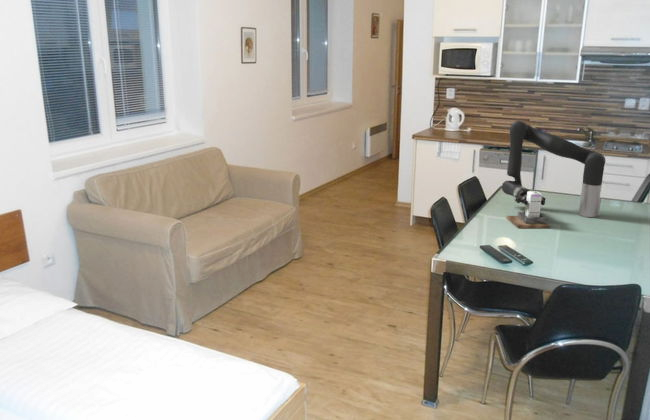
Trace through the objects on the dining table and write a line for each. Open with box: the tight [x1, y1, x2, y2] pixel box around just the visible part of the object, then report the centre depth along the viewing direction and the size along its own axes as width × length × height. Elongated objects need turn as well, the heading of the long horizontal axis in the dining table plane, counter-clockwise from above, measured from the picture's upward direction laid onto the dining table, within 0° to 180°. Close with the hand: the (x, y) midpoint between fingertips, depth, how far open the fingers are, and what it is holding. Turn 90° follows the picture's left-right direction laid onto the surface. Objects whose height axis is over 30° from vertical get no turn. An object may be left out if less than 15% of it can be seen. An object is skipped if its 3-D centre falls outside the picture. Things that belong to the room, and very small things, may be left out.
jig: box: [506, 211, 551, 229], centre depth 291 cm, size 16×16×4 cm
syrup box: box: [524, 190, 543, 217], centre depth 290 cm, size 6×6×14 cm
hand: (535, 203), depth 287 cm, fingers open, 8 cm apart
